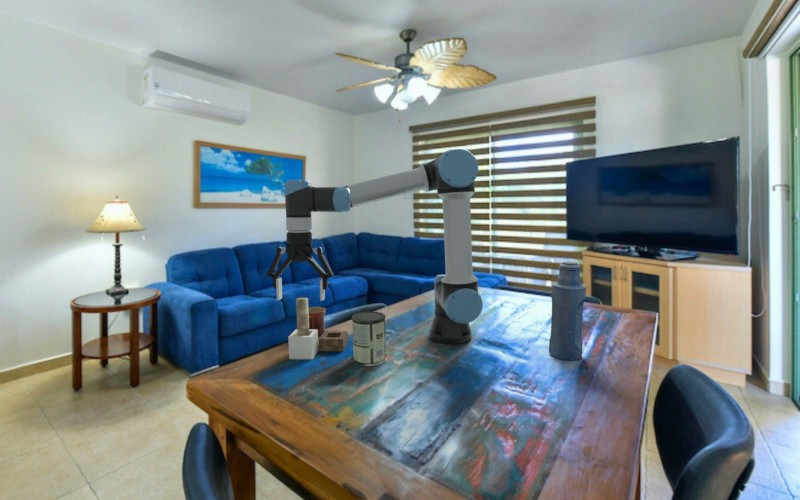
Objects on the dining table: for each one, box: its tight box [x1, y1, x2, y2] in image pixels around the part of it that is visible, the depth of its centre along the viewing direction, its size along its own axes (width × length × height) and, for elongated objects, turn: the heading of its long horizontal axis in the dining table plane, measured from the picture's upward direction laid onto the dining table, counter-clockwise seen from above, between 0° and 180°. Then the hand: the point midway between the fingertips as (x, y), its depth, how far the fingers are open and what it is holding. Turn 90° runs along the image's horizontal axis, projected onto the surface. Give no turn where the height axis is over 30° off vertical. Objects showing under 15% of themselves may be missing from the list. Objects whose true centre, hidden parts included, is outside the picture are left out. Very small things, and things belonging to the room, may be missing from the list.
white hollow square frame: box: [287, 328, 319, 360], centre depth 119 cm, size 7×7×8 cm
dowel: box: [295, 297, 309, 336], centre depth 118 cm, size 4×4×18 cm
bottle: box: [548, 260, 587, 361], centre depth 118 cm, size 10×10×30 cm
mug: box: [308, 306, 327, 338], centre depth 136 cm, size 12×9×10 cm
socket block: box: [318, 330, 349, 352], centre depth 126 cm, size 8×8×5 cm
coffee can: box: [351, 311, 387, 367], centre depth 117 cm, size 10×10×14 cm
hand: (301, 299), depth 117 cm, fingers open, 13 cm apart
